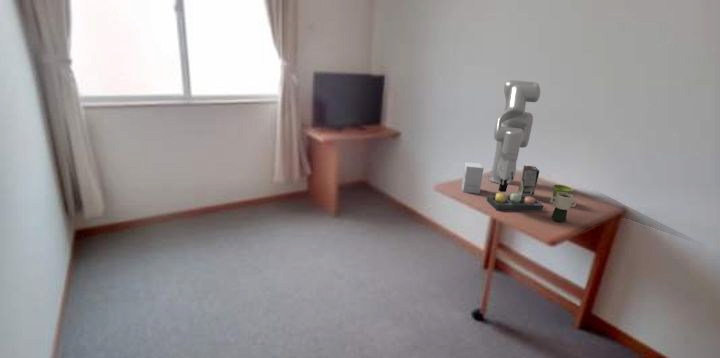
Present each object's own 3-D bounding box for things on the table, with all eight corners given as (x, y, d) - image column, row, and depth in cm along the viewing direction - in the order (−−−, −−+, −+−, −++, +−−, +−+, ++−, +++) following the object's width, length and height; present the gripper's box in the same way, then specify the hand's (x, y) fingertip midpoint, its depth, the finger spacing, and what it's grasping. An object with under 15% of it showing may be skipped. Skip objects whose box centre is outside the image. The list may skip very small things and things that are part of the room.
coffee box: (533, 199, 201) (540, 171, 195) (520, 198, 202) (527, 169, 196) (529, 193, 209) (535, 166, 204) (517, 192, 210) (523, 164, 205)
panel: (486, 200, 195) (487, 195, 194) (529, 201, 198) (530, 196, 197) (497, 210, 184) (498, 205, 183) (542, 211, 187) (543, 205, 186)
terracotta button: (521, 203, 194) (523, 196, 192) (530, 203, 194) (532, 196, 193) (526, 207, 189) (528, 200, 188) (535, 207, 190) (537, 200, 188)
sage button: (507, 200, 192) (509, 193, 191) (516, 200, 193) (518, 193, 191) (512, 204, 187) (514, 196, 186) (521, 204, 188) (523, 197, 187)
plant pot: (556, 206, 194) (560, 190, 191) (545, 199, 202) (548, 184, 200) (572, 206, 195) (576, 190, 192) (560, 199, 204) (564, 184, 201)
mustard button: (493, 200, 191) (494, 192, 190) (502, 200, 192) (503, 193, 190) (497, 204, 186) (498, 196, 185) (506, 204, 187) (508, 196, 186)
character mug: (569, 219, 179) (576, 194, 175) (572, 225, 173) (579, 199, 168) (544, 214, 182) (551, 190, 178) (546, 220, 176) (553, 195, 172)
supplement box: (477, 188, 212) (482, 163, 207) (479, 194, 204) (484, 168, 199) (461, 186, 213) (465, 161, 208) (462, 192, 205) (466, 166, 200)
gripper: (495, 151, 187) (488, 186, 193) (509, 160, 173) (502, 196, 179) (509, 152, 188) (502, 186, 194) (524, 160, 174) (516, 197, 180)
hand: (502, 191), depth 187 cm, fingers closed
